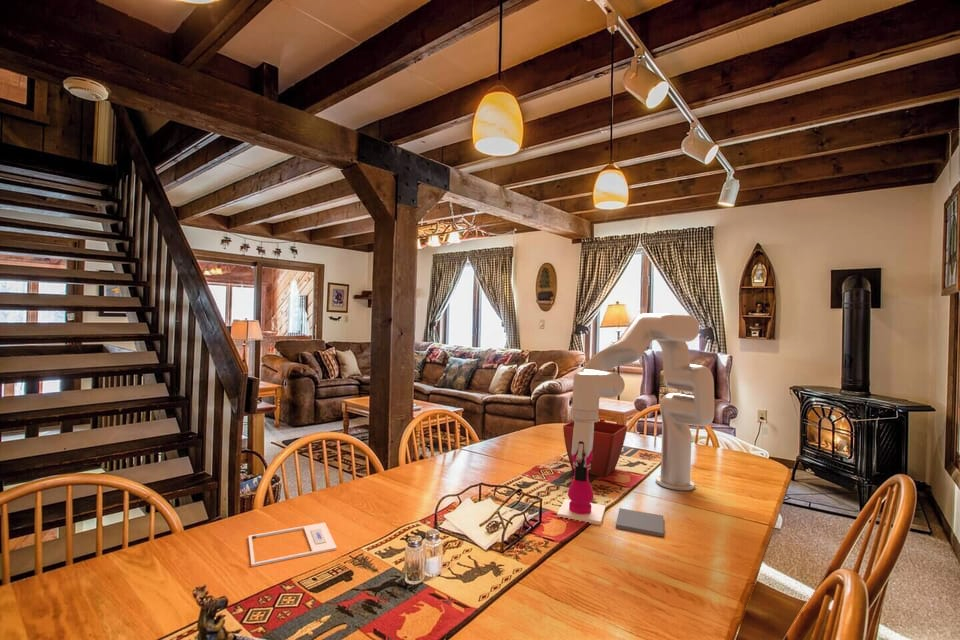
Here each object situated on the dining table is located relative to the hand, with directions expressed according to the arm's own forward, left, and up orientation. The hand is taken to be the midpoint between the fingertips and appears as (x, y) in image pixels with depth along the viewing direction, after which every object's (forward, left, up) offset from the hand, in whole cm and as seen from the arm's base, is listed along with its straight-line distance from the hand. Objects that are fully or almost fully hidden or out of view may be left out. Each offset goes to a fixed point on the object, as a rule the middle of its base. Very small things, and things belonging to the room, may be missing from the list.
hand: (582, 476), depth 135 cm
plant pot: (-42, -2, -11) cm, 44 cm away
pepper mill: (0, 0, -10) cm, 10 cm away
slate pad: (0, +16, -11) cm, 19 cm away
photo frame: (+49, -61, -11) cm, 79 cm away
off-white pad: (0, 0, -11) cm, 11 cm away
